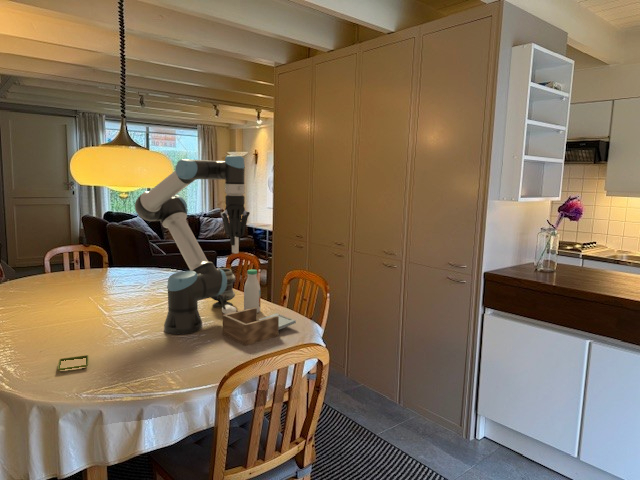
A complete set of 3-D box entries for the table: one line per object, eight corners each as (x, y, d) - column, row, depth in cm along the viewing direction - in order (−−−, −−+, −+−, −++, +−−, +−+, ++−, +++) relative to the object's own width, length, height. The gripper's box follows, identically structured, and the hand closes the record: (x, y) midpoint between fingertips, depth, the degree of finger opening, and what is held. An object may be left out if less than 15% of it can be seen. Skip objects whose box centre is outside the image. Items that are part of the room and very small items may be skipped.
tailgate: (277, 327, 178) (295, 319, 185) (257, 319, 188) (276, 312, 194) (277, 330, 179) (295, 323, 185) (258, 322, 188) (276, 316, 195)
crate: (245, 345, 166) (245, 325, 165) (222, 334, 178) (222, 315, 177) (278, 335, 177) (278, 316, 176) (255, 325, 189) (255, 307, 188)
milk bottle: (257, 314, 204) (257, 272, 201) (241, 313, 205) (241, 271, 202) (262, 309, 211) (262, 269, 208) (247, 308, 213) (247, 268, 210)
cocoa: (236, 317, 200) (237, 291, 199) (240, 321, 195) (241, 294, 194) (215, 318, 196) (216, 292, 195) (218, 322, 191) (219, 295, 190)
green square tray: (88, 360, 151) (88, 354, 151) (88, 370, 143) (88, 364, 143) (59, 364, 147) (59, 358, 147) (57, 375, 139) (57, 369, 139)
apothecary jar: (227, 310, 209) (226, 273, 206) (205, 307, 213) (204, 271, 210) (239, 303, 220) (239, 268, 218) (218, 301, 224) (218, 266, 221)
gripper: (226, 195, 169) (226, 255, 172) (253, 195, 178) (253, 252, 181) (215, 194, 174) (216, 253, 178) (243, 194, 183) (243, 250, 187)
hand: (235, 252), depth 179 cm, fingers closed
